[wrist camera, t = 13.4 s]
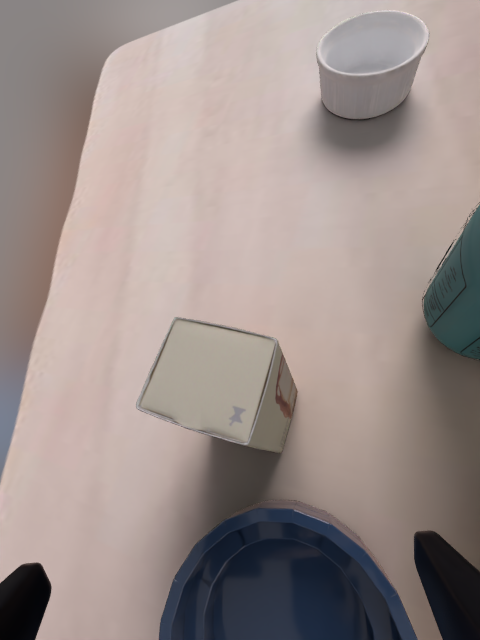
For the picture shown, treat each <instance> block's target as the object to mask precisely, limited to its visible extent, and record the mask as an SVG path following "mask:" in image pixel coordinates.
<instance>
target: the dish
mask: <svg viewBox="0 0 480 640" xmlns="http://www.w3.org/2000/svg"><path fill="white" fill-rule="evenodd" d="M159 640H418V639H417V637H416V634H415V632H414V630H413V627H412V625H411V623H410V620H409V618H408V616H407V613H406V611H405V609H404V606H403V604H402V602H401V599H400V597H399V595H398V593H397V591H396V590H395V588H394V586H393V585H392V583H391V581H390V580H389V578H388V576H387V575H386V573H385V571H384V570H383V568H382V566H381V565H380V564H379V562H378V561H377V560H376V558H375V557H374V556H373V554H372V553H371V552H370V550H369V549H368V548H367V547H366V545H365V544H364V543H363V541H362V540H361V539H360V537H359V536H357V534H356V533H355V532H353V531H352V530H351V529H349V528H348V527H347V526H345V525H344V524H343V523H342V522H340V521H339V520H338V519H336V518H335V517H334V516H333V515H331V514H330V513H328V512H326V511H324V510H321V509H318V508H316V507H313V506H310V505H308V504H305V503H302V502H300V501H296V500H267V501H263V502H260V503H257V504H254V505H251V506H249V507H246V508H243V509H240V510H239V511H237V512H235V513H234V514H232V515H231V516H229V517H228V518H226V519H225V520H223V521H222V522H221V523H220V524H218V525H217V526H216V527H215V528H214V529H213V530H211V531H210V532H209V533H208V534H207V535H205V536H204V537H203V538H202V539H201V540H199V541H198V542H197V543H196V544H195V546H194V547H193V549H192V550H191V552H190V553H189V555H188V557H187V558H186V560H185V561H184V563H183V564H182V566H181V568H180V569H179V571H178V572H177V574H176V575H175V578H174V579H173V583H172V586H171V589H170V592H169V595H168V599H167V602H166V605H165V608H164V612H163V615H162V618H161V622H160V632H159Z"/></svg>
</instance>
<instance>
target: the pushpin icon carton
mask: <svg viewBox="0 0 480 640" xmlns="http://www.w3.org/2000/svg"><path fill="white" fill-rule="evenodd" d="M296 397H297V388H296V386H295V383H294V380H293V378H292V376H291V373H290V370H289V368H288V365H287V363H286V360H285V358H284V356H283V353H282V350H281V348H280V346H279V343H278V340H277V339H275V338H273V337H269V336H266V335H261V334H257V333H254V332H250V331H246V330H242V329H237V328H233V327H228V326H224V325H219V324H214V323H209V322H204V321H199V320H192V319H186V318H179V317H175V318H174V319H173V321H172V324H171V326H170V328H169V331H168V333H167V334H166V337H165V339H164V341H163V343H162V345H161V348H160V350H159V352H158V354H157V356H156V359H155V361H154V363H153V366H152V368H151V370H150V372H149V374H148V377H147V379H146V381H145V384H144V386H143V389H142V391H141V394H140V396H139V398H138V400H137V403H136V408H137V409H138V410H140V411H142V412H145V413H147V414H150V415H152V416H155V417H157V418H160V419H162V420H165V421H168V422H171V423H173V424H176V425H179V426H181V427H184V428H187V429H190V430H193V431H196V432H199V433H202V434H206V435H209V436H212V437H216V438H219V439H223V440H226V441H229V442H233V443H236V444H240V445H244V446H247V447H252V448H257V449H261V450H267V451H271V452H276V453H281V452H282V450H283V446H284V443H285V440H286V436H287V433H288V429H289V426H290V422H291V418H292V414H293V410H294V406H295V401H296Z"/></svg>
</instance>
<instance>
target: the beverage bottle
mask: <svg viewBox="0 0 480 640" xmlns="http://www.w3.org/2000/svg"><path fill="white" fill-rule="evenodd" d="M479 203H480V202H479ZM479 203H478V204H479ZM475 207H476V206H475ZM476 209H477V210H476V211H475V210H473V212H474V211H475V213H473V216H472V218H471V219H470V221H469V223H467V222H466V223H467V226H466V225H465V224H464V225H465V226H466V227H465V226H464V225H463V226H464V227H465V228H464V231H463V232H462V234H461V236H460V237H459V239H458V240H457V242H456V244H455V245H454V247H453V249H452V250H451V252H450V254H449V255H448V257H447V258H446V259H445V261H444V262H443V264H442V267H441V268H440V270H438V273H436V274H437V275H436V274H435V275H436V276H435V278H434V280H433V281H432V283H431V285H430V286H429V288H428V290H427V292H426V294H425V296H424V297H425V298H423V299H424V311H423V313H424V314H425V315H424V316H425V319H426V322H427V324H428V326H429V328H430V330H431V331H432V333H433V334H434V336H435V337H436V338H437V339H438V340H439V341H440V342H441V343H442V344H444V345H445V346H446V347H448V348H449V349H451V350H452V351H454V352H456V353H458V354H461V355H463V356H466V357H469V358H473V359H478V360H480V205H479V206H478V207H477V208H476ZM469 216H471V215H469ZM467 218H468V217H467ZM467 220H468V219H467ZM463 226H462V227H463ZM460 231H461V230H460ZM456 236H457V235H456ZM453 241H454V240H453ZM453 243H454V242H452V244H453ZM452 244H451V246H452ZM451 246H450V247H449V249H450V248H451ZM449 249H448V251H449ZM448 251H447V252H446V254H447V253H448ZM446 254H445V256H446ZM445 256H444V257H443V259H444V258H445ZM443 259H442V261H443ZM442 261H441V262H440V264H441V263H442ZM440 264H439V265H438V267H439V266H440ZM438 267H437V269H438ZM437 269H436V270H437ZM435 272H436V271H435ZM432 278H433V277H432ZM432 278H431V279H432ZM431 279H430V281H431ZM428 283H429V282H428ZM423 294H424V293H423ZM423 299H422V307H423Z"/></svg>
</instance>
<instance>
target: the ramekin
mask: <svg viewBox="0 0 480 640" xmlns="http://www.w3.org/2000/svg"><path fill="white" fill-rule="evenodd" d="M428 41H429V30H428V28H427V26H426V25H425V23H424V22H423V21H422V20H421V19H419V18H418V17H416V16H414V15H411V14H408V13H405V12H401V11H393V10H380V11H372V12H367V13H362V14H359V15H356V16H353V17H350V18H348V19H346V20H344V21H342V22H340V23H339V24H337V25H335V26H334V27H333V28H331V29H330V30H329V31H328V32H327V33H326V34H325V35H324V36H323V37H322V38H321V40H320V41H319V43H318V46H317V50H316V57H317V63H318V66H319V74H320V87H321V97H322V101H323V103H324V105H325V106H326V108H327V109H328V110H329V111H330V112H332V113H334V114H335V115H338V116H340V117H343V118H348V119H367V118H372V117H376V116H379V115H382V114H384V113H386V112H388V111H390V110H392V109H393V108H395V107H396V106H398V105H399V104H400V103H401V102H402V101H403V100H404V99H405V98H406V96H407V95H408V93H409V91H410V88H411V86H412V83H413V80H414V77H415V74H416V71H417V68H418V65H419V62H420V59H421V56H422V55H423V53H424V51H425V49H426V46H427V44H428Z"/></svg>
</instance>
